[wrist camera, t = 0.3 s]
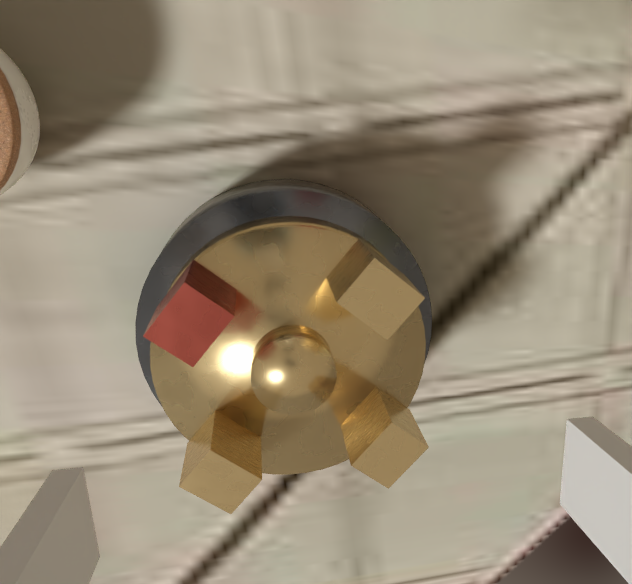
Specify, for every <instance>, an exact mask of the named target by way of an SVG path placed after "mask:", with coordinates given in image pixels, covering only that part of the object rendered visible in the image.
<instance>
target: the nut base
mask: <svg viewBox="0 0 632 584" xmlns="http://www.w3.org/2000/svg"><path fill="white" fill-rule="evenodd" d="M276 216H302V217H311V218H316V219H321V220H325V221H329V222H331V223H334V224H337V225H340V226H343V227H345V228H347V229H349V230H350V231H352V232H354V233H356V234H358V235H360V236H361V237H362V238H364V239H365V240H367V241H368V242H370V243H371V244H372V245H373V246H374V247H375V248H376V249H377V250H379V251H380V252H381V253H382V254H383V255H384V256H385V258H386V259H387V260H388V261H389V262H390V263H391V264H392V265H393V266H394V267H396V268H397V269H398V270H399V271H401V272H402V273H403V274H404V275H405V276H406V277H407V278H408V279H409V280H410V282H411V283H412V284H413V285H414V286H415V287H416V288H417V289H418V291H419V292H420V293H421V294H422V295H423V296H424V297H425V299H424V300H423V301H422V302H421V303H420V304H419V306H418V307H419V309H420V312H421V316H422V320H423V324H424V329H425V340H426V349H425V360H426V357H427V354H428V350H429V344H430V339H431V328H432V314H431V303H430V298H429V294H428V290H427V285H426V283H425V280H424V277H423V275H422V272H421V270H420V268H419V266H418V264H417V262H416V261H415V259H414V257H413V255H412V254H411V252H410V251H409V249H408V248H407V247H406V246H405V244H404V243H403V242H402V240H401V239H400V238H399V237H398V236H397V235H396V234H395V233H394V232H393V231H392V230H391V229H390V228H389V227H388V226H387V225H386V224H384V223H383V222H382V221H381V220H380V219H379V218H378V217H377V216H376V215H375V214H374V213H372V212H371V211H370V210H369V209H368V208H366V207H365V206H364V205H362V204H361V203H360V202H358V201H357V200H355V199H354V198H352V197H350V196H348V195H346V194H344V193H342V192H340V191H338V190H336V189H333V188H330V187H327V186H325V185H322V184H317V183H313V182H308V181H302V180H290V179H279V180H265V181H260V182H254V183H249V184H246V185H243V186H240V187H237V188H233V189H231V190H229V191H226V192H224V193H222V194H220V195H218V196H216V197H214V198H213V199H211V200H210V201H208V202H207V203H205V204H204V205H202V206H200V207H199V208H198V209H197V210H196V211H194V212H193V213H192V214H191V215H190V216H189V217H188V218H186V219H185V220H184V222H183V223H182V224H181V225H180V226H179V227H178V229H177V230H176V231H175V232H174V233H173V235H172V236H171V238H170V240H169V241H168V243H167V244H166V246H165V247H164V249H163V251H162V252H161V254H160V255H159V257H158V259H157V260H156V262H155V264H154V265H153V267H152V268H151V270H150V273H149V275H148V277H147V279H146V281H145V284H144V286H143V289H142V292H141V296H140V300H139V303H138V308H137V316H136V345H137V351H138V357H139V361H140V364H141V367H142V370H143V373H144V376H145V379H146V381H147V383H148V385H149V387H150V389H151V391H152V393H153V394H154V396H155V397H156V399H157V400H158V401H159V399H158V396H157V393H156V390H155V387H154V384H153V380H152V374H151V368H150V344H151V341H149V340H148V339H146V338H145V337H143V335H144V333H145V331H146V329H147V327H148V325H149V322H150V320H151V318H152V316H153V314H154V312H155V310H156V308H157V306H158V305H159V304H160V302H161V301H162V300H163V298H164V297H165V296H166V294H167V292H168V290H169V288H170V286H171V284H172V282H173V280H174V279H175V277H176V276H177V274H178V273H179V271H180V270H181V268H182V267H183V266H184V265H185V263H186V262H187V261H188V260H189V259H190V258H191V257H192V255H193V254H194V253H196V252H197V251H198V250H199V249H200V248H201V247H203V246H204V245H205V244H206V243H207V242H209V241H211V240H212V239H214V238H215V237H217V236H218V235H220V234H221V233H223V232H225V231H228V230H230V229H232V228H234V227H236V226H238V225H241V224H244V223H247V222H250V221H253V220H258V219H263V218H268V217H276ZM424 363H425V361H424ZM159 403H160V401H159ZM160 404H161V403H160ZM161 406H162V405H161Z"/></svg>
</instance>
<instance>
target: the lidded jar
mask: <svg viewBox="0 0 632 584" xmlns="http://www.w3.org/2000/svg"><path fill="white" fill-rule="evenodd" d="M39 137H40V120H39V113H38V108H37V104H36V101H35V98H34V95H33V92H32V90H31V88H30V86H29V84H28V82H27V80H26V78H25V77H24V75H23V74H22V72H21V71H20V69H19V68H18V67H17V65H16V64H15V63H14V62H13V61H12V59H11V58H10V57H9V56H8V55H7V54H6V53H5V52H4V51H3V50H2V49H0V195H1V194H3V193H4V192H5V191H7V190H8V189H9V188H11V187H12V186H13V185H14V184H16V183H17V181H18V180H19V179H20V178H21V177H22V176H23V175H24V173H25V172H26V171H27V169H28V168H29V166H30V164H31V163H32V161H33V159H34V156H35V153H36V151H37V148H38V142H39Z"/></svg>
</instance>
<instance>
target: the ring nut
mask: <svg viewBox="0 0 632 584" xmlns="http://www.w3.org/2000/svg"><path fill="white" fill-rule="evenodd" d="M424 299H425V297H424V296H423V295H422V294H421V293H420V292H419V291H418V289H417V288H416V287H415V286H414V285H413V284H412V283H411V282H410V280H409V279H408V278H407V277H406V276H405V275H404V274H403V273H402V272H401V271H399V270H398V269H397V268H396V267H394V266H393V265H392V264H391V263H390V262H389V261H388V260H387V259H386V258H385V256H384V255H383V254H382V253H381V252H380V251H379V250H377V249H376V248H375V247H374V246H373V245H372V244H371V243H370V242H368V241H367V240H365V239H364V238H362V237H361V236H360V235H358V234H356V233H354V232H352V231H350V230H349V229H347V228H345V227H343V226H340V225H337V224H334V223H331V222H329V221H325V220H321V219H316V218H311V217H302V216H276V217H268V218H263V219H258V220H253V221H250V222H247V223H244V224H241V225H238V226H236V227H234V228H232V229H230V230H228V231H225V232H223V233H221V234H220V235H218V236H217V237H215V238H214V239H212V240H211V241H209V242H207V243H206V244H205V245H204V246H203V247H201V248H200V249H199V250H198V251H197V252H196V253H194V254H193V255H192V257H191V258H190V259H189V260H188V261H187V262H186V263H185V265H184V266H183V267H182V268H181V270H180V271H179V273H178V274H177V276H176V277H175V279H174V280H173V282H172V284H171V286H170V288H169V290H168V292H167V294H166V296H165V297H164V298H163V300H162V301H161V302H160V304H159V305H158V306H157V308H156V310H155V312H154V314H153V316H152V318H151V320H150V322H149V325H148V327H147V329H146V331H145V333H144V335H143V337H145V338H146V339H148V340H149V341H151V344H150V368H151V374H152V380H153V384H154V387H155V390H156V393H157V396H158V399H159V401H160V403H161V405H162V407H163V409H164V411H165V413H166V414H167V415H168V417H169V418H170V420H171V421H172V423H173V424H174V426H175V427H176V428H177V429H178V430H179V431H180V432H181V433H182V434H183V435H184V437H186V438H187V439H188V440H189V442H188V443H187V449H186V454H185V459H184V464H183V469H182V474H181V479H180V485H179V487H181V488H183V489H185V490H186V491H188V492H190V493H192V494H194V495H196V496H198V497H200V498H201V499H203V500H205V501H207V502H209V503H211V504H213V505H215V506H217V507H218V508H220V509H222V510H224V511H226V512H228V513H230V514H232V513H233V511H234V510H235V509H236V508H237V507H238V506H239V505H240V504H241V502H242V501H243V500H244V499H245V498H246V497H247V496H248V495H249V494H250V492H251V491H252V490H253V489H254V488H255V487H256V486H257V485H258V484H259V482H260V481H261V480H262V473H267V474H298V473H307V472H311V471H316V470H321V469H324V468H327V467H331V466H334V465H337V464H339V463H341V462H344V461H346V460H348V459H350V463H351V466H353V467H354V468H356V469H358V470H359V471H361V472H363V473H364V474H366V475H367V476H369V477H371V478H372V479H374V480H375V481H377V482H379V483H380V484H382V485H384V486H385V487H387V488H388V489H389V488H390V486H391V485H392V484H393V483H394V482H395V481H396V480H397V479H398V478H399V477H400V476H401V475H402V474H403V473H404V472H405V471H406V470H407V469H408V468H409V467H410V466H411V465H412V464H413V463H414V462H415V461H416V460H417V459H418V458H419V457H420V456H421V455H422V454H423V453H424V452H425V451H426V450H427V449H428V448H429V447H428V445H427V443H426V441H425V439H424V437H423V435H422V433H421V431H420V429H419V427H418V425H417V423H416V421H415V419H414V417H413V415H412V413H411V412H410V410H409V409H408V408H407V407H408V406H409V404H410V403H411V401H412V399H413V396H414V394H415V392H416V390H417V388H418V385H419V382H420V379H421V376H422V372H423V367H424V361H425V349H426V340H425V329H424V324H423V320H422V316H421V312H420V309H419V307H418V306H419V304H420V303H421V302H422V301H423V300H424Z"/></svg>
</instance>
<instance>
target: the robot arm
mask: <svg viewBox="0 0 632 584" xmlns="http://www.w3.org/2000/svg"><path fill="white" fill-rule="evenodd" d="M560 505H561V506H562V507H563V508H564V509H565V510H566V512H567V513H568V514H569V515H570V516H571V517H572V518H573V520H574V521H575V522H576V523H577V524H578V525H579V526H580V528H581V529H582V530H583V531H584V532H585V533H586V535H587V536H588V537H589V538H590V539H591V540H592V542H593V543H594V544H595V545H596V546H597V547H598V548H599V550H600V551H601V552H602V553H603V554H604V555H605V557H606V558H607V559H608V560H609V561H610V562H611V563H612V565H613V566H614V567H615V568H616V569H617V570H618V571H619V573H621V575H622V576H623V577H624V579H625V580H626V581H627V582H628V583H629V584H632V447H631V446H630V445H629V444H628V443H626V442H625V441H624V440H622V439H621V438H620V437H618V436H617V435H616V434H615V433H613V432H612V431H611V430H609V429H608V428H607V427H606V426H604V425H603V424H602V423H600V422H599V421H598V420H597V419H595V418H594V417H583V418H573V419H567V424H566V436H565V448H564V460H563V472H562V484H561V496H560ZM99 557H100V554H99V549H98V543H97V538H96V533H95V527H94V522H93V517H92V511H91V506H90V501H89V496H88V490H87V485H86V480H85V474H84V469H83V467H80V468H70V469H60V470H52V472H51V473H50V475H49V476H48V478H47V479H46V481H45V482H44V483H43V485H42V486H41V488H40V489H39V491H38V492H37V494H36V495H35V497H34V498H33V500H32V501H31V503H30V504H29V506H28V507H27V509H26V510H25V512H24V513H23V515H22V516H21V518H20V519H19V521H18V522H17V524H16V525H15V526H14V528H13V529H12V531H11V532H10V534H9V535H8V537H7V538H6V540H5V541H4V543H3V544H2V546H1V547H0V584H89V582H90V579H91V577H92V574H93V572H94V570H95V567H96V565H97V562H98V560H99Z"/></svg>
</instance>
